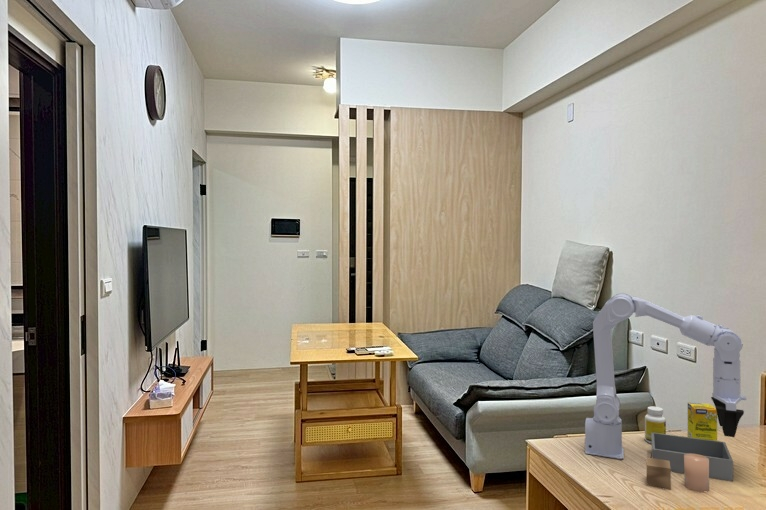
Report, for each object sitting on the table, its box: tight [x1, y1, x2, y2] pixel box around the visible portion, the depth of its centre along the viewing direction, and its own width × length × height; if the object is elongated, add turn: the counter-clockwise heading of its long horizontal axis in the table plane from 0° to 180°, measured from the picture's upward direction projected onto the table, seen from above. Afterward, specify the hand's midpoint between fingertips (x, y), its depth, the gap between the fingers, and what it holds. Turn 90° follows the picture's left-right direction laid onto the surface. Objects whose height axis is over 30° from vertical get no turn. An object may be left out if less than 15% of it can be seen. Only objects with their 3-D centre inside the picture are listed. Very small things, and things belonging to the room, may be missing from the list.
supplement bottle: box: [644, 405, 667, 445], centre depth 149 cm, size 5×5×10 cm
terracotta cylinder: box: [683, 453, 710, 493], centre depth 121 cm, size 5×5×7 cm
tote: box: [651, 432, 734, 482], centre depth 134 cm, size 17×13×5 cm
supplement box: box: [687, 402, 718, 441], centre depth 148 cm, size 6×6×11 cm
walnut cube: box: [645, 457, 672, 491], centre depth 124 cm, size 5×5×5 cm
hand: (726, 431), depth 130 cm, fingers open, 7 cm apart
